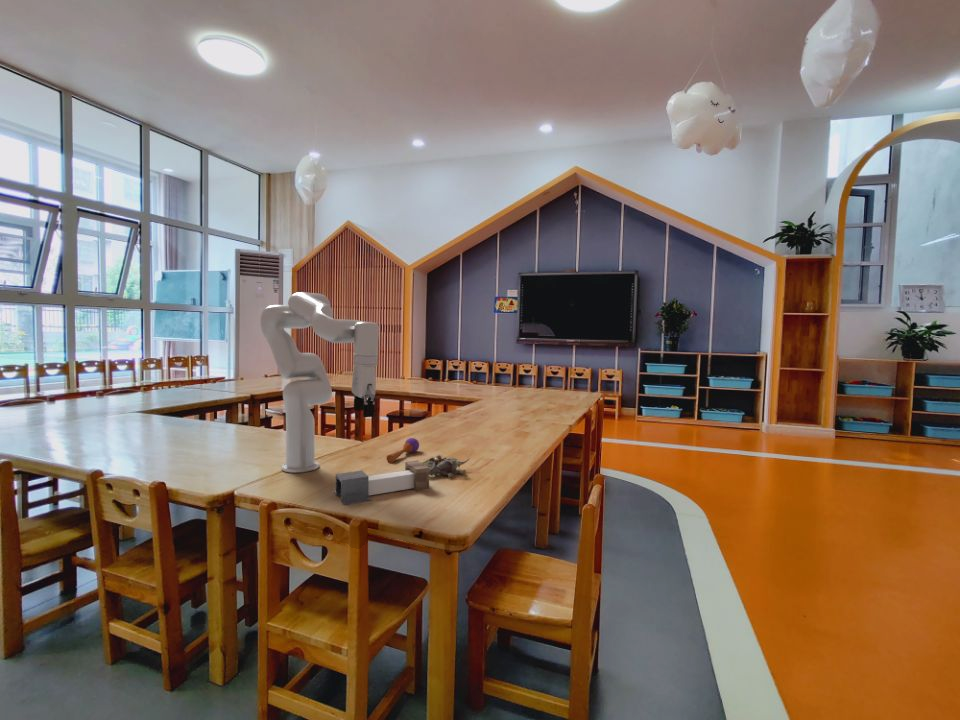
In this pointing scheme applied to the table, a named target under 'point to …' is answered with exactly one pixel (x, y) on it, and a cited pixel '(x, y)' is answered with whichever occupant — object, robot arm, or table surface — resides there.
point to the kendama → (404, 449)
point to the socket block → (419, 474)
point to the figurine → (444, 466)
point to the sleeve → (352, 487)
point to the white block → (390, 482)
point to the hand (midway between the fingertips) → (363, 413)
